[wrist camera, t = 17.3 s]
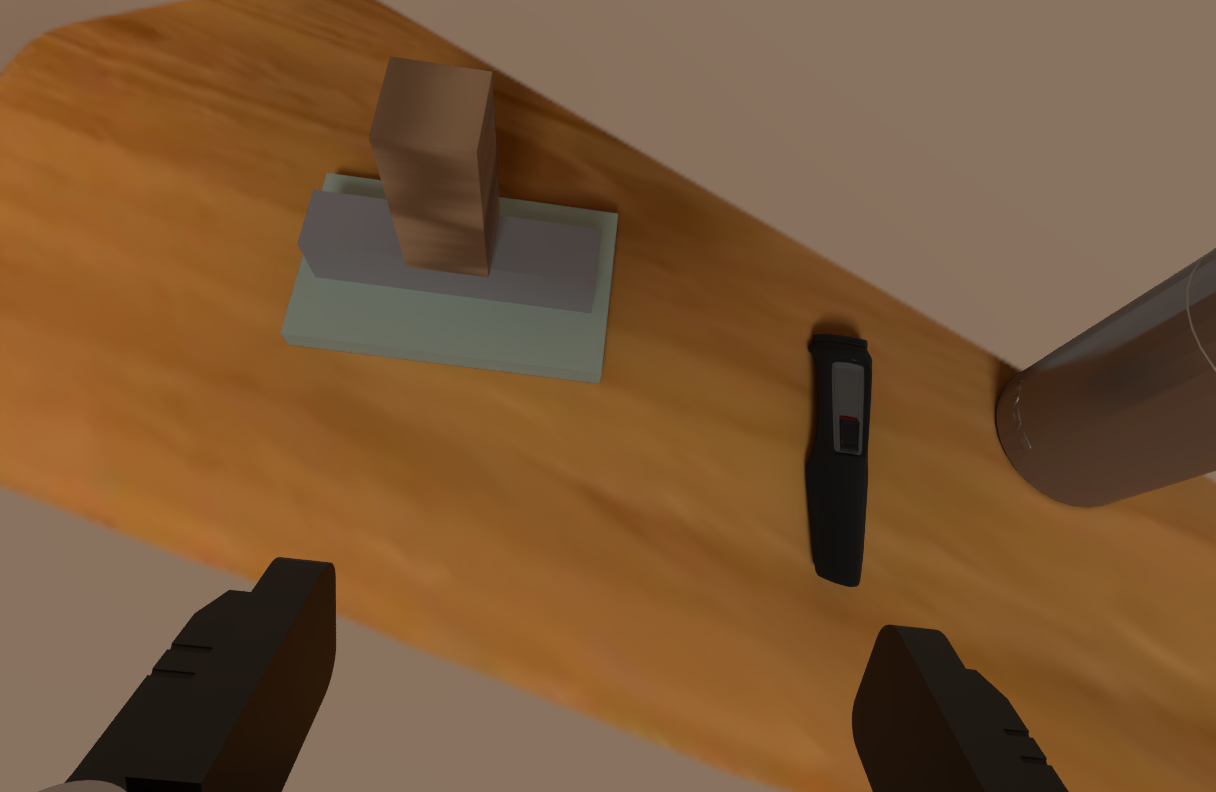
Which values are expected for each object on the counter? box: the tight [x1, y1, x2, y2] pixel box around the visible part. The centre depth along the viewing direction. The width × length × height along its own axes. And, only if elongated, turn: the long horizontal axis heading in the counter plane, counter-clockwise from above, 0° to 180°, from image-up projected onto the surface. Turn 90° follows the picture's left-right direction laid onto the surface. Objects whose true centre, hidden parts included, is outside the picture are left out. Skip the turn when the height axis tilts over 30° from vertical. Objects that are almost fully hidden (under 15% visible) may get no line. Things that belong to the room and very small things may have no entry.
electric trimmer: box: [806, 334, 872, 587], centre depth 42 cm, size 4×16×3 cm, turn 172°
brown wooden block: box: [369, 57, 500, 277], centre depth 36 cm, size 4×4×10 cm
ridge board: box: [281, 173, 618, 383], centre depth 43 cm, size 18×11×5 cm, turn 85°
